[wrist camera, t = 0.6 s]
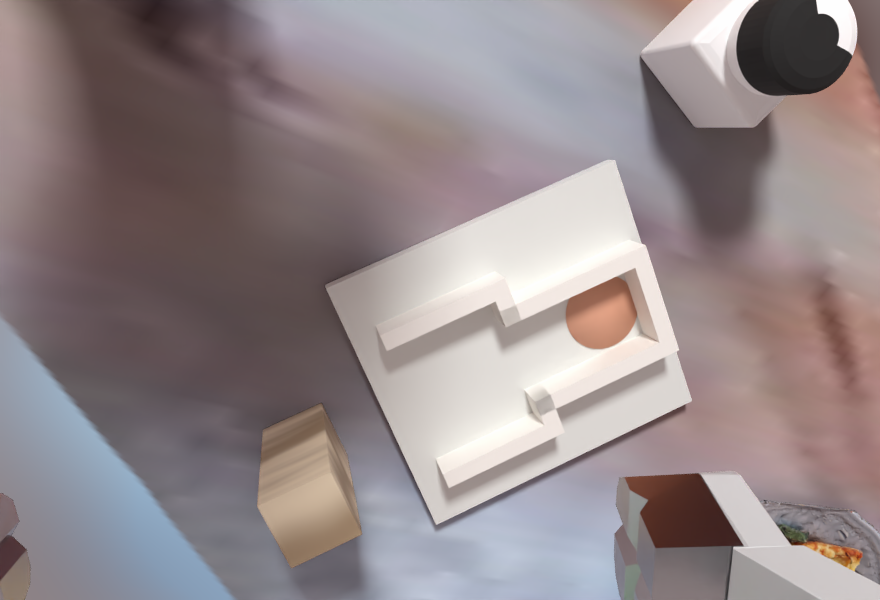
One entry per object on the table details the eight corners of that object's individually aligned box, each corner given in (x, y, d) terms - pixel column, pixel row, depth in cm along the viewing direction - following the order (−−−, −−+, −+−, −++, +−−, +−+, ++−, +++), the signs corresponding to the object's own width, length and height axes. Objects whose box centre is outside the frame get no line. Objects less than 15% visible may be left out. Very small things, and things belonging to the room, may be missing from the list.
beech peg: (263, 429, 52) (257, 506, 41) (321, 402, 52) (330, 471, 41) (290, 481, 53) (291, 568, 42) (347, 454, 53) (362, 534, 43)
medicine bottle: (694, 130, 53) (806, 130, 42) (636, 54, 51) (738, 32, 39) (764, 60, 53) (896, 41, 42) (709, -19, 51) (832, -62, 39)
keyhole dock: (324, 284, 50) (327, 296, 47) (607, 159, 52) (631, 161, 49) (433, 516, 56) (443, 542, 52) (684, 395, 58) (709, 412, 54)
